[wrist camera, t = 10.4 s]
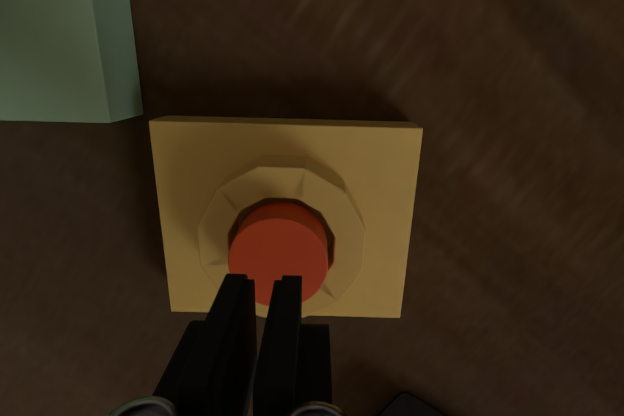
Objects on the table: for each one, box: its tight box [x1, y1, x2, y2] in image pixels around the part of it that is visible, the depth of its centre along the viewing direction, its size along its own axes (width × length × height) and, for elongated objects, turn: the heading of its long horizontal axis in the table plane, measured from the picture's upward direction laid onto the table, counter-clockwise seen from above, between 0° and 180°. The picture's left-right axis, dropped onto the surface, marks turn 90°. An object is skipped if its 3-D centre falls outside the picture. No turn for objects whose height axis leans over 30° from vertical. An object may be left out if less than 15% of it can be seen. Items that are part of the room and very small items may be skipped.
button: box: [228, 202, 328, 306], centre depth 14 cm, size 4×4×2 cm
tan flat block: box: [149, 115, 423, 318], centre depth 17 cm, size 11×9×4 cm
